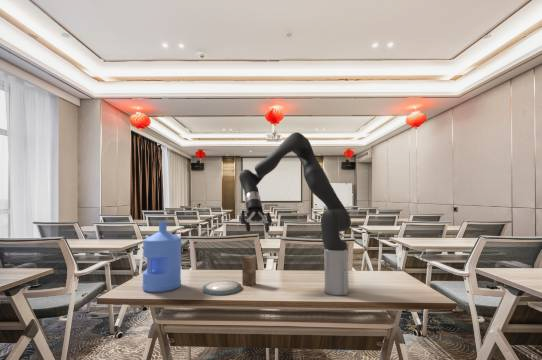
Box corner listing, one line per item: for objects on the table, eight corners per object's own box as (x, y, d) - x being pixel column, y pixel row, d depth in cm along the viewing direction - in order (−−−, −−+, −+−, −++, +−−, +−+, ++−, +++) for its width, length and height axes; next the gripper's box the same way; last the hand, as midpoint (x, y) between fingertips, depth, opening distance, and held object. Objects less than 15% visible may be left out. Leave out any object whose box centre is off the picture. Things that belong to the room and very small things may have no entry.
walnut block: (255, 283, 134) (255, 256, 134) (251, 286, 129) (251, 258, 130) (246, 282, 135) (246, 255, 136) (242, 285, 131) (242, 257, 132)
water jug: (164, 280, 139) (165, 220, 141) (188, 285, 131) (189, 221, 133) (134, 289, 126) (135, 222, 128) (158, 295, 118) (160, 224, 120)
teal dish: (247, 285, 130) (247, 282, 130) (230, 297, 115) (230, 293, 115) (215, 282, 136) (215, 279, 136) (194, 292, 121) (194, 289, 121)
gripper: (241, 197, 138) (245, 226, 128) (269, 199, 143) (275, 227, 132) (237, 207, 143) (240, 235, 133) (265, 208, 148) (270, 236, 137)
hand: (258, 231), depth 133 cm, fingers open, 8 cm apart
